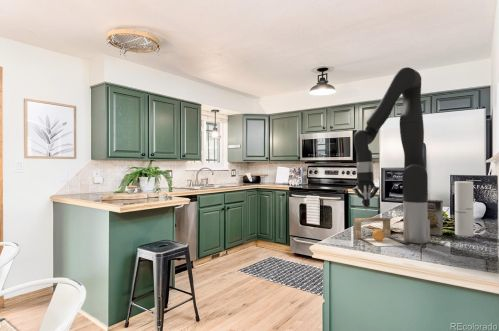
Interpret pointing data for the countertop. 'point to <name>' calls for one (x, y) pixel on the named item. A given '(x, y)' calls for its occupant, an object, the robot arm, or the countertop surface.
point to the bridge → (358, 221)
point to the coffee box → (435, 216)
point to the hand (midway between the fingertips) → (366, 206)
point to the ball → (378, 235)
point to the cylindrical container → (464, 208)
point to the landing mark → (384, 242)
